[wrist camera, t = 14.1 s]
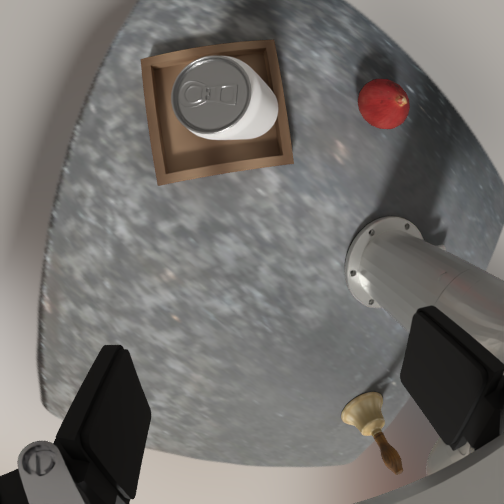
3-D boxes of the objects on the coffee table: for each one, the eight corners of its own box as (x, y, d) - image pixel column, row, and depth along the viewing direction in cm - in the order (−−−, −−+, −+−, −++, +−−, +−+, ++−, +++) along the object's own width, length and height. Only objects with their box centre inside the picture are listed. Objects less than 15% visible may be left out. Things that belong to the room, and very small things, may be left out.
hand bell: (384, 385, 45) (427, 448, 30) (379, 414, 48) (415, 473, 32) (341, 400, 44) (377, 471, 29) (340, 428, 47) (369, 493, 32)
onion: (351, 78, 30) (385, 62, 22) (391, 96, 31) (429, 86, 23) (342, 121, 31) (376, 113, 24) (383, 137, 32) (422, 135, 25)
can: (220, 79, 28) (170, 52, 17) (281, 82, 27) (262, 49, 16) (215, 137, 30) (162, 139, 19) (276, 142, 29) (253, 144, 18)
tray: (270, 47, 28) (274, 39, 26) (288, 163, 32) (293, 163, 30) (145, 65, 27) (140, 59, 25) (162, 183, 31) (157, 185, 29)
